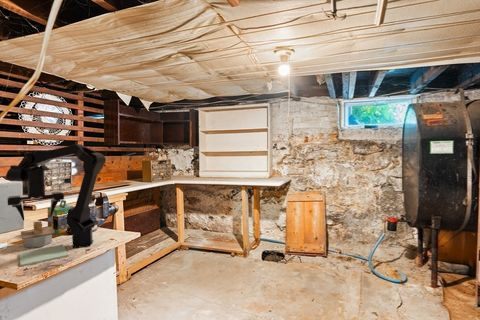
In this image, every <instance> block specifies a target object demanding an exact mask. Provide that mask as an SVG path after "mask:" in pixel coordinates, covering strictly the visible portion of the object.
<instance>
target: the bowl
mask: <svg viewBox="0 0 480 320" xmlns="http://www.w3.org/2000/svg"><path fill="white" fill-rule="evenodd" d="M52 242H53V235H47V236H41V237H35V238H29V239H23V243H24V247H25V248H27V249H33V248H40V247H44V246H48V245H49V244H51V243H52Z"/></svg>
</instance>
